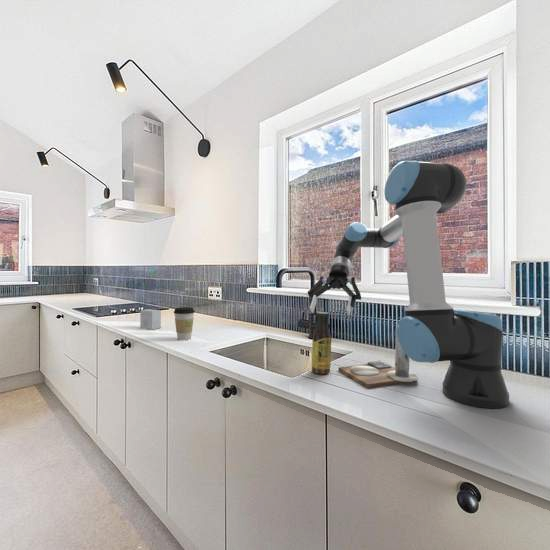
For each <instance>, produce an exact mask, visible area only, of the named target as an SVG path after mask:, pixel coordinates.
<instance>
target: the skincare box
mask: <svg viewBox="0 0 550 550" xmlns="http://www.w3.org/2000/svg"><path fill="white" fill-rule="evenodd" d="M139 313H140V314H139V315H140V319H139V321H140V322H139V323H140V325H139V326H140V327H139V329H143V328H146V329H145V330H150V329H153V330H157V328H159V329H161V328H162V327H161V326H162V325H161V324H162V321H161V320H162V310H159V309H147V308H146V309H140V312H139Z"/></svg>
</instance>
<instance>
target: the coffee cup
mask: <svg viewBox="0 0 550 550" xmlns="http://www.w3.org/2000/svg"><path fill="white" fill-rule="evenodd" d="M195 313H196V312H195V310H194V307H188V306H187V307H184V306H183V307H176V308H175V309H174V311H173V314H174V323H175V331H176V336H177V340H178V341H180V340H186V341H189V339H190V340H192V332H193V325H194V315H195Z"/></svg>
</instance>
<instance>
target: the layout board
mask: <svg viewBox="0 0 550 550" xmlns="http://www.w3.org/2000/svg"><path fill="white" fill-rule="evenodd" d="M338 372H340V373H341V374H343V375H345V376H346V377H348V378H349V379H351V380H352V381H355V382H356V383H358V384H360V385H362V387H365V388H367V389H373V388H380V387H386V386H394V385H400V384H407V382H408V383H414V382H413V381H415V382H418V380H419V376H418V375H417V374H415V373H413V372H411V371H409V377H406V378H404V377H398V376H396V375H395V366H392V365H391V364H388V363H386V362H382V361H380V360H378V361H377V360H375V361H368V362H367V363H366V364H356V365H348V366H339V367H338Z"/></svg>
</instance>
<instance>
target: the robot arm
mask: <svg viewBox="0 0 550 550" xmlns="http://www.w3.org/2000/svg"><path fill="white" fill-rule="evenodd" d="M467 184H468V183H467V178H466V175H465V174H464V172H463V171H462V169H461V168H459V167H457V166H456V165H453V164H450V163H441V162H428V161H418V160H415V159H414V160H403V161H402V160H401V161H400V162H398V163H396V165H394V166H393V168H391V171H390V172H389V173H388V176H387V178H386V180H385V185H384V189H383V190H384V194H383V195H384V199H385V201H387V203H388V204H391V206H392V205H394V212H395V213H394V214H395V215H394V217H392V218H391V219H390V220H389V221H386V223H385V224H383V225H382V226H380V227H379V228H367V227H366V225H365V224H364V223H362V222H359V221H355V222H352V223H349V225H348V226H347V228H346V229H345V231H344V234H343V236H342V238H341V240H339V242H338V243H337V246H336V247H335V254H334V257H333V260H332V262H331V267H330V269H329V274H328V276H327V278H326V277H324V276H320V277H319V279H318V281H317V282H315V284H314V285H313V286H312V287H311V288H310V289H309V290H308V291H307V295H308V297H309V298H310V299H309V303H310V306H309V310H310V312H311V313H312V314H313V313H314V312H315V309H316V305H317V302H318V298H319V296H322V294H324V293H325V292H326V291H327V292H328V291H329V290H331V289H333V290H334V289H335V290H336V289H338V290H341V289H342V290H343V291H344V292H345V293H346V294H347V296H349V298H348V302H347V307H346V309H345V310H346V315H347V316H351V312H352V311H351V310H352V308H354V307H355V305H356V301H357V300H360V301H361V300H362V295H361V292H360V290H359V288H358V285H357V284H356V282H357V281H356V277H354V276H352V277H351V278H349V274H350V271H351V267H352V262H353V258H354V256H355V254H356V253H357V251H358V249H359V248H376V249H377V248H381V249H390V248H391V249H392V248H394V247H396V246H397V244H398V242H399V238H401V237H402V238H403V244H404V256H405V266H406V267H405V268H406V278H407V287H408V289H407V290H408V296H409V298H408V299H409V304H408V305H407V306H406V307H405V308H404V316H403V317H402V318H400V319H399V321H398V322H397V326H396V329H397V338H398V342H399V344H400V346H401V348H402V350H403V351H404V352H405V354H406V355H407V356H408V357H409V359H411V360H412V361H414V362H417V363H429V364H434V363H436V362H437V363H438V362H449V366H448V369H447V371H446V373H445V377H444V379H443V381H442V393H443V394H444V395H445V396H446V397H448V398H450V399H451V400H453V401H456V402H458V403H461V404H464V405H468V406H473V407H478V408H485V409H502V408H506V407H508V406H509V405H510V393H509V391H508V388H507V386H506V385H507V384H506V382H505V378H504V376H503V374H502V355H503V353H502V352H503V332H504V330H503V324H502V323H503V321H502V319H501V318H500V317H501V316H499V315H497V314H492V313H486V312H479V311H473V310H465V309H459V308H454V307H453V306H451V305H450V304H449V303H447V300H446V292H445V282H444V274H443V266H442V255H441V248H440V247H441V246H440V239H439V230H438V221H437V220H438V219H437V215H441V214H445V213H446V212H448V211H449V210H451V209H452V208H454V207H455V206H456V205H458V203H460V202H461V200H462V199H463V197H464V196H465V194H466V190H467ZM348 283H349V284H350V285H352V288H353V290H351V288H350V287H349V286H348ZM311 313H310V314H311Z"/></svg>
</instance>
